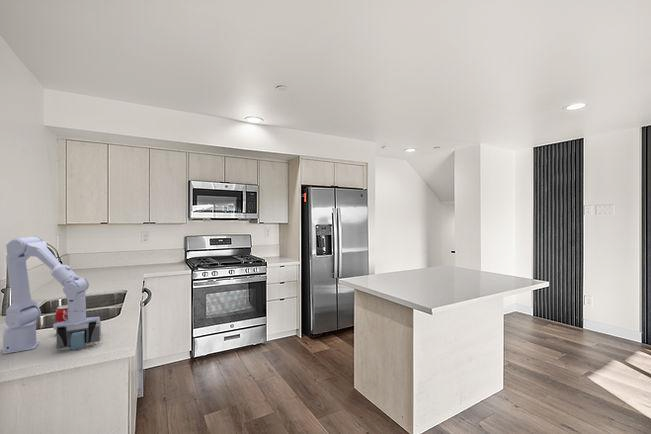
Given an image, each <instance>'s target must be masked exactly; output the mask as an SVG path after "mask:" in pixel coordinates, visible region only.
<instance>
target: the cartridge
mask: <svg viewBox="0 0 651 434" xmlns="http://www.w3.org/2000/svg"><path fill="white" fill-rule="evenodd" d="M85 344H86V330H81V331H75V332H73V333H72V335H71V346H70V351H74V350H80V349H84V348H85Z"/></svg>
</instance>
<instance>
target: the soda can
mask: <svg viewBox="0 0 651 434" xmlns="http://www.w3.org/2000/svg"><path fill="white" fill-rule="evenodd" d="M54 318H55V323H59V322H63V321H68V304H61V305H59V306H57V307H56V310H55V317H54ZM55 332H56V333H57V329H55Z"/></svg>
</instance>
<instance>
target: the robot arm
mask: <svg viewBox="0 0 651 434" xmlns="http://www.w3.org/2000/svg"><path fill="white" fill-rule="evenodd" d="M5 247H6V257H5V259H6V260H5V261H6V267H7V274H8V282H9V288H10V295H11V302H12V303H11V304H10V306H8V307H7V309H6V311H5V312H6V313H5V318H4V323H5V325H6V326H7V327H6V328H5V329H3V333H2V349H3V350H2V351H3V352H2V354H3V355H7V354H11V353H17V352H18V353H19V352H22V351H29V350H34V349H36V348H37V347H38V345H39V344H40V340H37V323H38V320H39V319H40V318H41V315H42V311H41V309H40V308H39V304H38V302H37V301H35V300H33V299H32V296H31V289H30V283H29V275H28V268H27V267H28V266H27V260H29V258H31V257H36V258H37V259H38V260H40V261H41V262H42V263H43V264H44V265H46V267H48V268H49V269H50V270H51V276H52V277H53V278H54V279H55V280H56V281H57V282H59V284H60V285H61V286H62V287H63V288H62V291H63V293H64V295H65V299H66V300H67V305H68V321H63V322H59V323H56V322H54V323H53V325H52V327H53V328H52V329H53V331H54V330H56V329H57V333H58V334H59V336H60V337H61V339H62V341H63V344H64V347H63V348H65V346H66V347H68V346H67V337H66V327H70V326H77V325H83V324H89V325H88V330H89V338H88V342H89V343H92V342H91V336H92V333H93V330H94V328H95V326H96V323H99V322H100V323H101V319H100V316H93V317H89V316H88V317H87V306H86V305H87V304H86V301H87V300H86V291H88V289H89V287H90V284H89V281H88V280H87V278H85V277H81V276H80V275H77V274H76V273H75V271H74V270H72V267H71V266H70V265H67V264H62V263H61V262H60V261H59V260H58V259H57V257H56V256H55V255H54V254H53V253H52V252H51V250H50V249H49V248H48V245H47V242H46V241H45V240H44V239H43V238H42V237H41V236H38V235H33V236H27V237H20V238H18V237H16V238H12V239H11V240H10V241H8V243H6V244H5Z"/></svg>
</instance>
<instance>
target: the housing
mask: <svg viewBox="0 0 651 434" xmlns="http://www.w3.org/2000/svg"><path fill="white" fill-rule="evenodd" d="M88 325H89V324H83V325H77V326H70V327H66V337H67V346H65V347H66V348H67V347H71V335H72V333H73V332H75V331H81V330H86V341H85V344H88V343H94V342H100V340H101V334H102V333H101V332H102V331H101V328H102V327H101V325H102V324H101V321H100V322H99V323H98V324H96V326H95V328H94V330H93V333H92V336H91V342H88V338H89V330H88ZM55 335H56V349H60V348H65V347H64V344H63V341H62V339H61V337H60V336H59V334H58V333H56V334H55Z"/></svg>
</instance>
